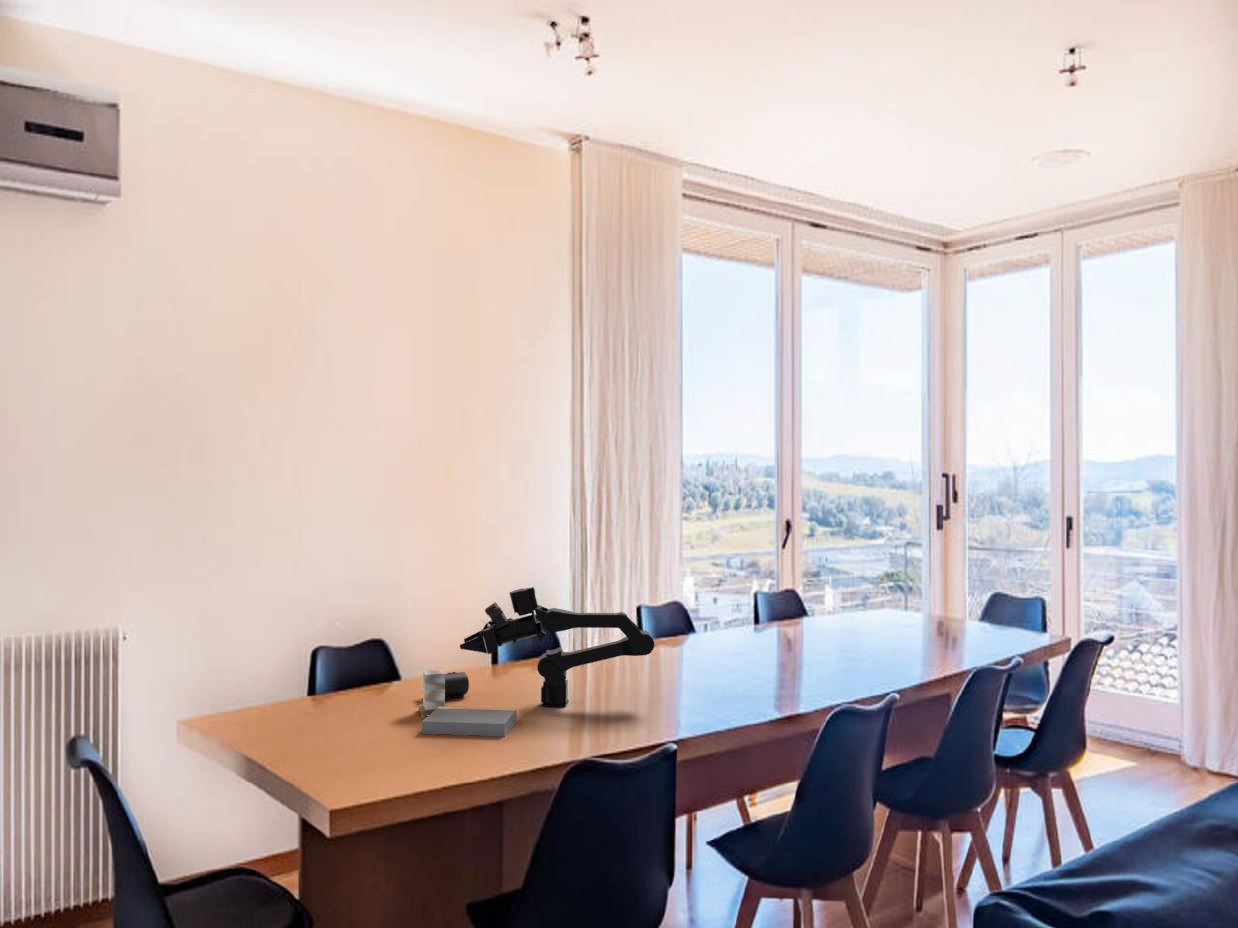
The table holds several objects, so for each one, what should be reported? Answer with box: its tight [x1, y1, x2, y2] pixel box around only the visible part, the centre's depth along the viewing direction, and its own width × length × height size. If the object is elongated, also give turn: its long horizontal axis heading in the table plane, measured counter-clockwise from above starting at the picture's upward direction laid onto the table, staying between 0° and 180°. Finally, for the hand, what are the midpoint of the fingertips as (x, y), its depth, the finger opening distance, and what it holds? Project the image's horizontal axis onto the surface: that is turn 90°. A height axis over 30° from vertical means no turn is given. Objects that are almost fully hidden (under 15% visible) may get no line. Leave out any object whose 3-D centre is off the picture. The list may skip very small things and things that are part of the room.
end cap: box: [445, 671, 470, 700], centre depth 259 cm, size 10×7×7 cm
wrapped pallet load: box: [418, 669, 449, 716], centre depth 242 cm, size 7×7×10 cm
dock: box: [421, 706, 517, 738], centre depth 228 cm, size 20×14×3 cm
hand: (462, 643), depth 251 cm, fingers open, 9 cm apart
